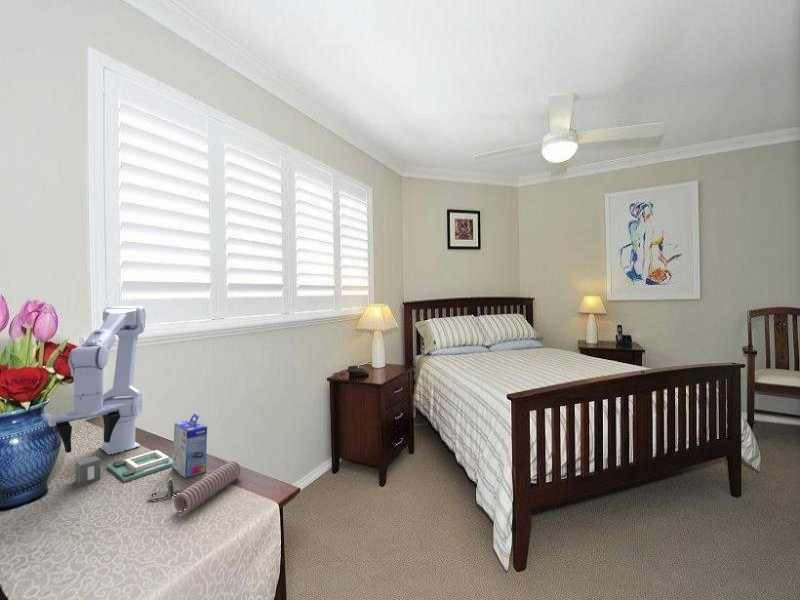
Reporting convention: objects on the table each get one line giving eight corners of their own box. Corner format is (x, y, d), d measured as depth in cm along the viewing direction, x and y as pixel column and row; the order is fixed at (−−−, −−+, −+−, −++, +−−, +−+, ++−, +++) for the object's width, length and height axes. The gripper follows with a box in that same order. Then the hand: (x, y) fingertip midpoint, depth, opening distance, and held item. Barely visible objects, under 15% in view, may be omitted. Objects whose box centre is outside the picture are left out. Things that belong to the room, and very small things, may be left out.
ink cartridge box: (207, 471, 96) (208, 417, 96) (185, 479, 92) (185, 422, 92) (193, 460, 103) (194, 410, 103) (172, 467, 99) (172, 414, 99)
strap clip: (146, 504, 81) (146, 485, 81) (150, 497, 84) (150, 479, 84) (189, 496, 85) (189, 478, 85) (191, 490, 87) (191, 473, 87)
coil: (189, 498, 76) (244, 461, 93) (171, 493, 77) (229, 457, 95) (187, 519, 76) (242, 478, 94) (169, 514, 77) (227, 474, 95)
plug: (75, 481, 91) (75, 461, 91) (95, 474, 94) (95, 455, 94) (80, 486, 88) (80, 466, 88) (101, 479, 92) (101, 460, 92)
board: (106, 468, 98) (107, 460, 98) (156, 453, 108) (156, 446, 108) (124, 482, 90) (124, 474, 90) (176, 464, 100) (176, 457, 100)
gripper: (53, 402, 83) (53, 460, 83) (128, 389, 95) (127, 441, 95) (46, 397, 87) (45, 453, 87) (118, 386, 99) (118, 435, 99)
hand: (88, 446), depth 92 cm, fingers open, 7 cm apart
